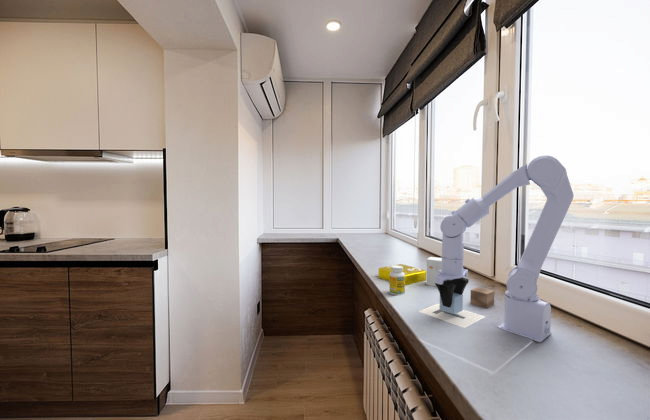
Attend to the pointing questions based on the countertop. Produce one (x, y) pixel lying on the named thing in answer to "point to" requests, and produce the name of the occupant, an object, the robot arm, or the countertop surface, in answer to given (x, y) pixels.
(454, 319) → the letter card
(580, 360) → the countertop surface
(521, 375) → the countertop surface
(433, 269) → the small box
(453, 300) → the dusty blue cube
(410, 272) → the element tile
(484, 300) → the walnut block
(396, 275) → the supplement bottle
